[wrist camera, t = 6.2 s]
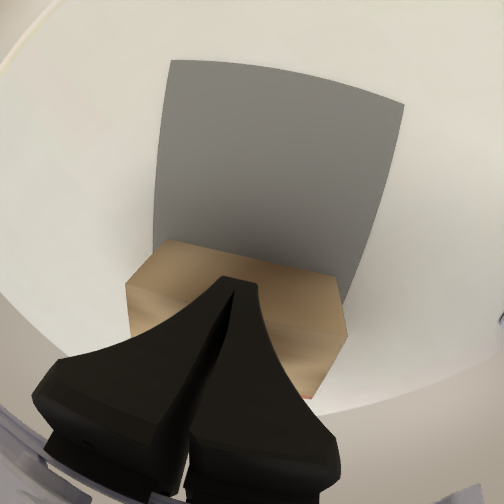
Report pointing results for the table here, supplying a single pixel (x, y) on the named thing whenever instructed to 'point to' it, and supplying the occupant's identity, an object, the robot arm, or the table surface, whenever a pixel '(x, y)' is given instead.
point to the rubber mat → (272, 165)
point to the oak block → (270, 297)
